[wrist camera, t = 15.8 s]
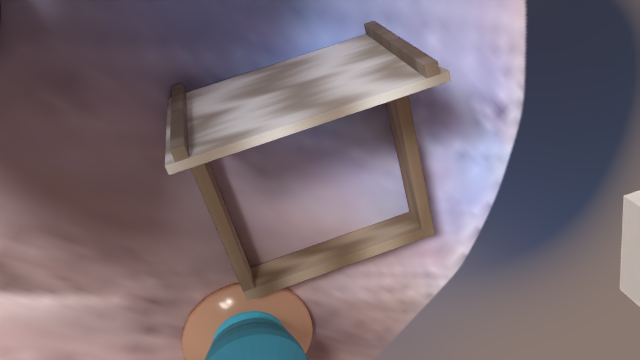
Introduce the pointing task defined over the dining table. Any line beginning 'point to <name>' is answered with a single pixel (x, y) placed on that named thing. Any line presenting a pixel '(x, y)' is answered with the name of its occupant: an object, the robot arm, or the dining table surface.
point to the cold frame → (299, 114)
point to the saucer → (233, 302)
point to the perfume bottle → (254, 339)
